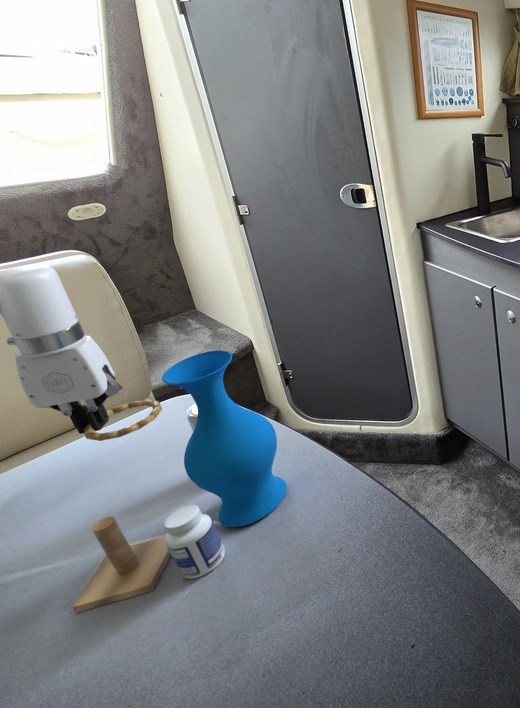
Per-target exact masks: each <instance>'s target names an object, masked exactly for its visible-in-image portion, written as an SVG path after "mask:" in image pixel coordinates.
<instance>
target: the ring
mask: <svg viewBox="0 0 520 708" xmlns="http://www.w3.org/2000/svg"><path fill="white" fill-rule="evenodd" d="M141 407H149V408H152V411H151V412H150V413H149V414H148V415H147V416H145V417H144V418H142V419H140V420H139V421H137V422H136V423H134V424H133V423H132V424H131V425H129V426H125V427H123V428H120V429H118V430H114V431H108V432H103V433H102V432H97V431H95V430H94V429H93V428H92V426H91V424H90V423H89V424H88V425H87V426H86V427H85V429H84V433H83V434H84V437H85V439H86V440H91V441H98V442H102V441H107V440H113V439H117V438H122V437H124V436H127V435H129V434H131V433H134V432H137V431H139V430H141V429H143V428H144V427H146V426H147V425H149V424H150V423H152V422H153V421H155V420H156V419H157V417H158V416H159V415H160V414H161V412H162V411H163V407H162V405H161V403H160V401H159V400H153V399H140V400H135V401H129V402H126V403H123V404H121V405H118V406H114V407H112V408H110V409H108V410H106V412H107V414H108V416H109V418H111V417H113V416H115V415H117V414H120V413H123V412H126V411H128V410H131V409H135V408H137V409H138V408H141Z"/></svg>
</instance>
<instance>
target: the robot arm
mask: <svg viewBox="0 0 520 708" xmlns="http://www.w3.org/2000/svg"><path fill="white" fill-rule="evenodd" d="M0 316H1V318H2V319H3V321H4V323H5V325H6V327H7V328H8V331H9V332H10V334H11V336H10V337H7V339H6V343H7V345H8V346H16V347H17V349H18V352H17V353H16V354H15V355H14V356H15V365H16V370H17V374H18V379H19V381H20V384H21V387H22V389H23V391H24V394H25V396H26V397H27V399H28V402H29V403H30V405H32V406H33V407H36V408H42V409H50V408H51V409H53V410H55V411H58V412H61V413H62V415H63V416H65V417H69V418H70V421H71V422H72V425H73V427H74V428H76V430H77V432H78V434H79V435H81V434H82V435H83V434H85V433H84V429H85V427H86V426H87V425H88V424H89V423H90V424H91V426H92V428H93V429H94V432H99V431H100V430H102V429H103V427H104V426H106V424H107V423H108V422H109V419H110V417H109V416H108V414H107V412H106V411H107V410H106V407H105V405H104V403H105V402H106V400H107V399H109V398H111V397H113V396H115V395H118V394H119V393H120V392H121V391H122V390H123V386H122V385H121V384H120V383H119V382H118V381H117V378H116V375H115V371H114V369H113V367H112V365H111V363H110V361H109V360H108V358H107V356H106V355H105V353H104V352H103V350H102V348H101V347H100V345H98V344H97V342H96V341H95V340H94V339H93V338H92V337H91V335H86V333H85V331H84V329H83V327H82V325H81V322H80V320H79V318H78V316H77V313H76V311H75V308H74V307H73V304H72V303H71V301H70V298H69V296H68V294H67V291H66V289H65V287H64V285H63V283H62V280H61V278H60V276H59V274H58V273H57V271H56V269H55V268H53V267H52V266H50V265H46V264H27V265H21V266H18V267H12V268H8V269H6V270H1V271H0ZM81 401H84V403H85V404H83V405H82V402H81Z"/></svg>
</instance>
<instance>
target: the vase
mask: <svg viewBox="0 0 520 708" xmlns="http://www.w3.org/2000/svg"><path fill="white" fill-rule="evenodd" d="M232 359H233V354H232V353H231V352H230V351H227V350H209V351H205V352H201V353H197V354H195V355H192V356H189V357H186V358H184V359H182V360H180V361H178V362H176V363H174V364H173V365H172V366H170V367H169V368H168V369H166V370H165V372H164V373H163V374H162V377H161V380H162V382H163V383H164V384H167V385H171V386H176V387H178V388H181V389H184V390H185V391H186V392H187V393H189V394H190V396H191V397H192V399H193V401H194V404H195V403H196V406H197V410H198V417H197V423H196V426H195V429H194V431H193V430H192V433H191V436H190V438H189V439H188V442H187V444H186V447H185V450H184V455H183V464H184V470H185V472H186V475H187V477H188V478H189V479H190V480H191V482H193V484H194V485H196V486H197V487H198V488H200V489H202V490H204V491H206V492H208V493H211V494H213V495H215V496H217V497H218V498H219V499H220V500H221V502H222V503H221V506H220V507H219V510H218V521H219V523H220V524H221V525H223V526H224V527H228V528H239V527H244V526H247V525H250V524H253V523H255V522H257V521H260V520H261V519H263V518H265V517H266V516H267V515H269V514H270V513H271V512H272V511H274V510H275V509H276V508H277V507H278V506H279V504H280V503H281V502H282V501H283V500H284V498H285V496H286V493H287V489H288V485H287V483H286V481H285V480H283V478H280V477H278V476H274V474H273V473H272V470H273V464H274V460H275V457H276V454H277V448H278V439H277V438H278V437H277V433H276V430H275V428H274V426H273V424H272V423H271V422H270V421H269V420H268V419H267V418H266V417H264V416H263V415H261V414H260V413H258V412H255V411H253V410H250V409H247V408H245V407H242V406H240V405H238V404H237V403H236V402H234V400H232V399H231V398H230V397H229V395H228V394H227V391H226V389H225V385H224V374H225V371H226V369H227V367H228V366H229V365H230V363H231V361H232Z"/></svg>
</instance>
